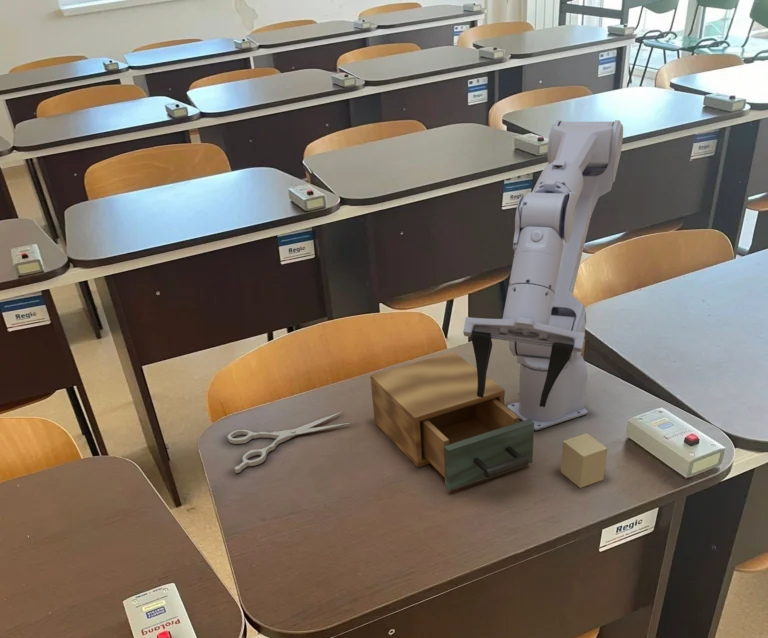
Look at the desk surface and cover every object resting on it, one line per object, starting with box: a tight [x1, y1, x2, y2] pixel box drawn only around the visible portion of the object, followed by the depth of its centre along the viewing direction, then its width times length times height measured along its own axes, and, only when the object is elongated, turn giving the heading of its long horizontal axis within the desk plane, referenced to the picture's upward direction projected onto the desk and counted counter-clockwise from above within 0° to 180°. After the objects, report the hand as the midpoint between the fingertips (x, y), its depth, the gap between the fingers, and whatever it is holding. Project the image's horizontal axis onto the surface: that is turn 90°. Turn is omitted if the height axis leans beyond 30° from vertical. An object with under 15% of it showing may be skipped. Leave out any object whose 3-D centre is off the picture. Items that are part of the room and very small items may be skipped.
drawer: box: [420, 398, 535, 491], centre depth 103 cm, size 18×13×6 cm
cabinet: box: [369, 351, 506, 468], centre depth 111 cm, size 15×14×8 cm
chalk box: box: [560, 432, 608, 489], centre depth 100 cm, size 4×4×5 cm
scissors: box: [227, 411, 355, 474], centre depth 115 cm, size 11×1×20 cm
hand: (510, 400), depth 93 cm, fingers open, 7 cm apart
